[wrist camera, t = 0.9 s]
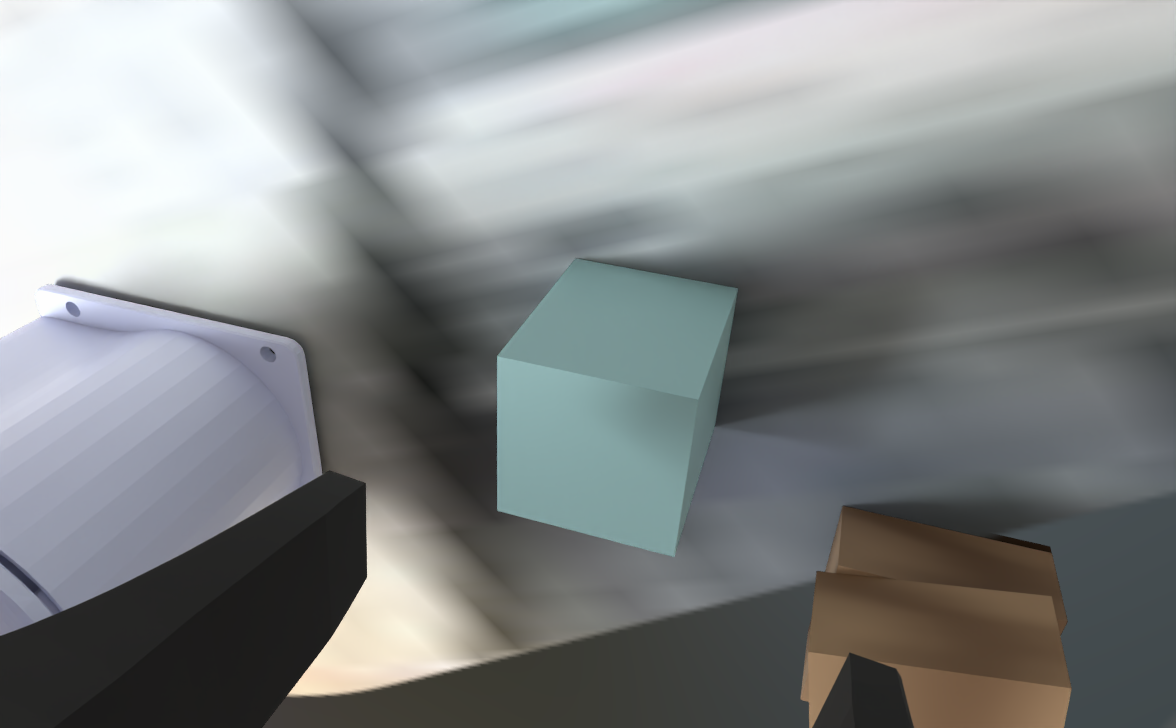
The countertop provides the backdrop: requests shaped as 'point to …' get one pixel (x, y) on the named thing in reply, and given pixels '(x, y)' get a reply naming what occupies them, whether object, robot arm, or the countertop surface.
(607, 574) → the countertop surface
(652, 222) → the countertop surface
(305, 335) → the countertop surface
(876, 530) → the tower base
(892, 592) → the tower top
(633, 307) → the teal block
